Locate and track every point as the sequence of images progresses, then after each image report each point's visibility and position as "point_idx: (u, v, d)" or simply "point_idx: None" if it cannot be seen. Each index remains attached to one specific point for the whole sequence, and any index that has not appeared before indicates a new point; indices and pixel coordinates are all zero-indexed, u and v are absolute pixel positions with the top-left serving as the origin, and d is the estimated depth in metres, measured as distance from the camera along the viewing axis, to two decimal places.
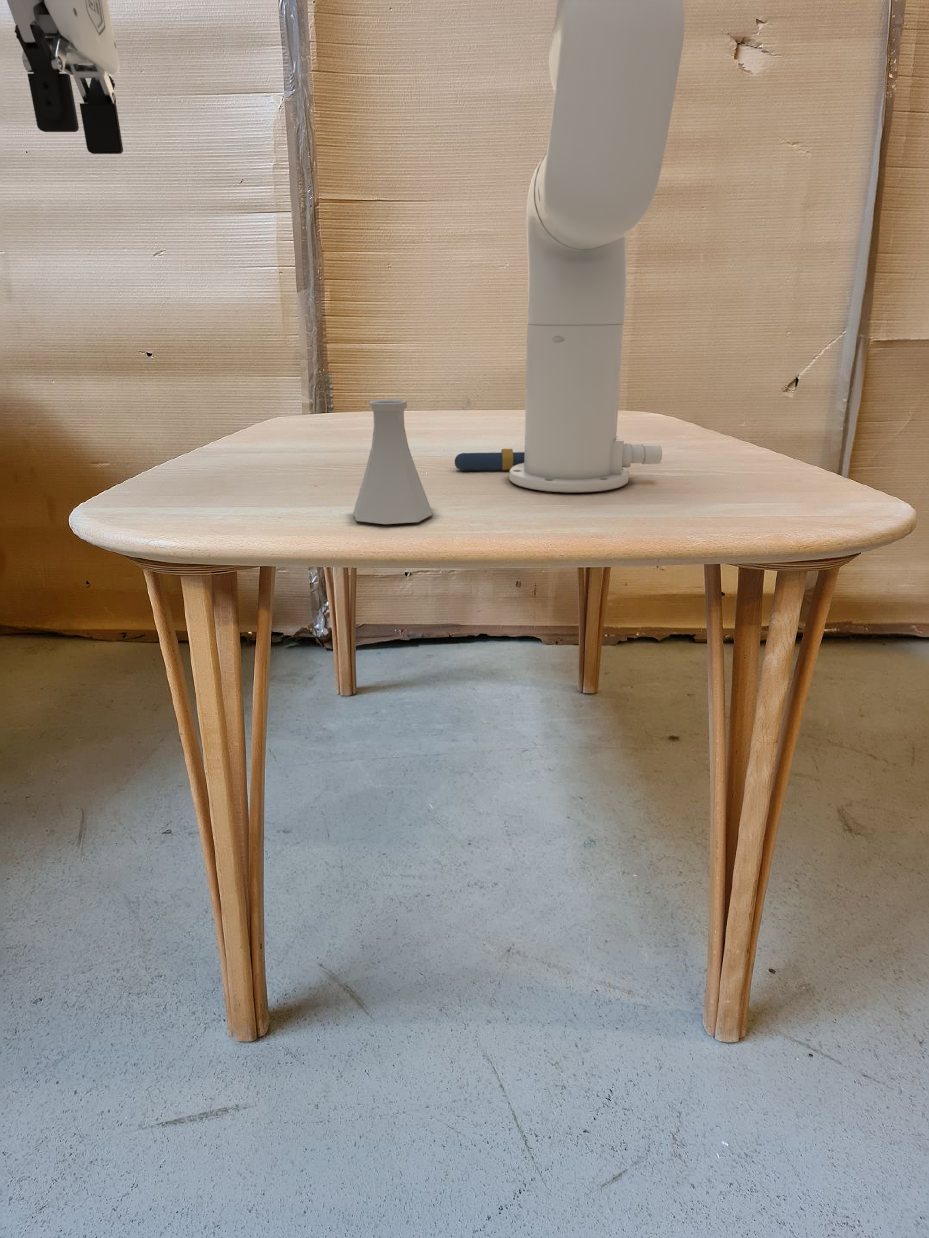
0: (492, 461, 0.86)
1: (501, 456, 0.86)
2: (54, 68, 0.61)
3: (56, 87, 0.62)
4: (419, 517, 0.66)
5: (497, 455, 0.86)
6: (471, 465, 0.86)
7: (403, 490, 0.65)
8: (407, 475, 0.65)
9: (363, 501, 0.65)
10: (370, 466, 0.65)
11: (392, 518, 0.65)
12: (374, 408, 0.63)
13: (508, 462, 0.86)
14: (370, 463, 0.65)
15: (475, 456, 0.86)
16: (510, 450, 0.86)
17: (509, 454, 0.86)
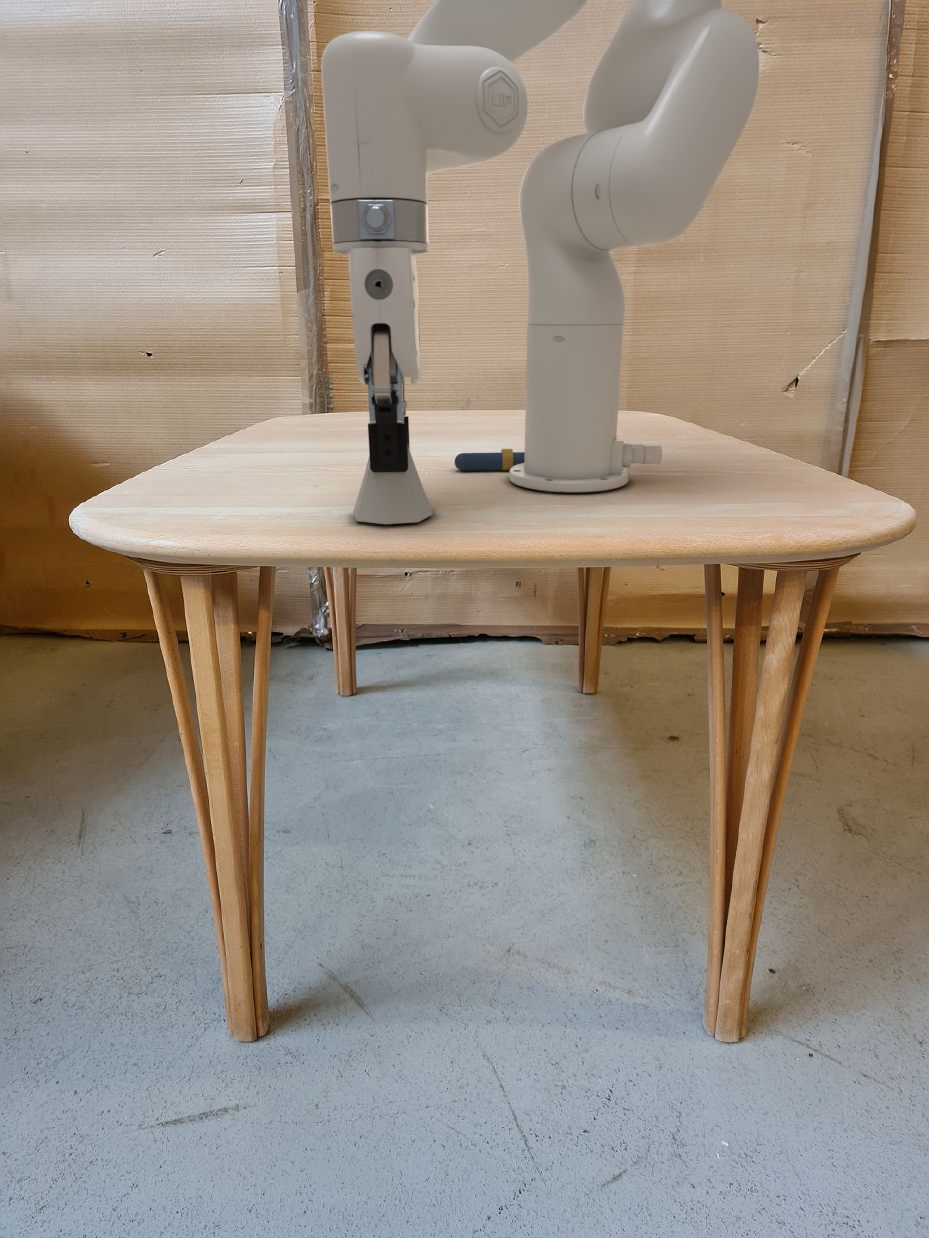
0: (492, 461, 0.86)
1: (501, 456, 0.86)
2: (398, 424, 0.62)
3: (397, 438, 0.63)
4: (419, 517, 0.66)
5: (497, 455, 0.86)
6: (471, 465, 0.86)
7: (403, 490, 0.65)
8: (407, 475, 0.65)
9: (363, 501, 0.65)
10: None
11: (392, 518, 0.65)
12: None
13: (508, 462, 0.86)
14: None
15: (475, 456, 0.86)
16: (510, 450, 0.86)
17: (509, 454, 0.86)
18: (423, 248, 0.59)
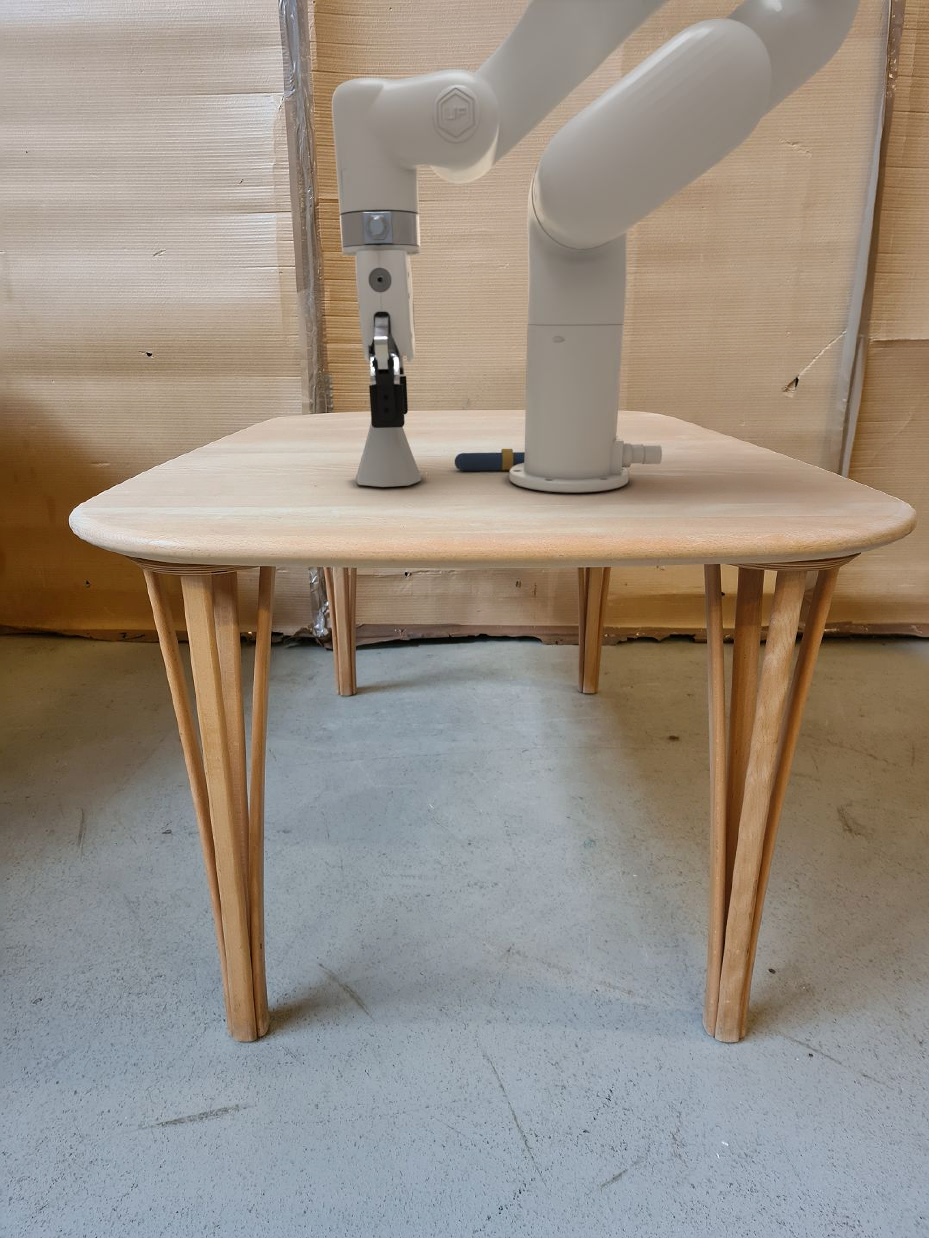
0: (492, 461, 0.86)
1: (501, 456, 0.86)
2: (395, 383, 0.72)
3: (394, 397, 0.73)
4: (410, 481, 0.79)
5: (497, 455, 0.86)
6: (471, 465, 0.86)
7: (397, 458, 0.78)
8: (400, 446, 0.79)
9: (364, 468, 0.79)
10: (369, 439, 0.79)
11: (388, 482, 0.78)
12: None
13: (508, 462, 0.86)
14: (369, 436, 0.79)
15: (475, 456, 0.86)
16: (510, 450, 0.86)
17: (509, 454, 0.86)
18: (416, 250, 0.72)
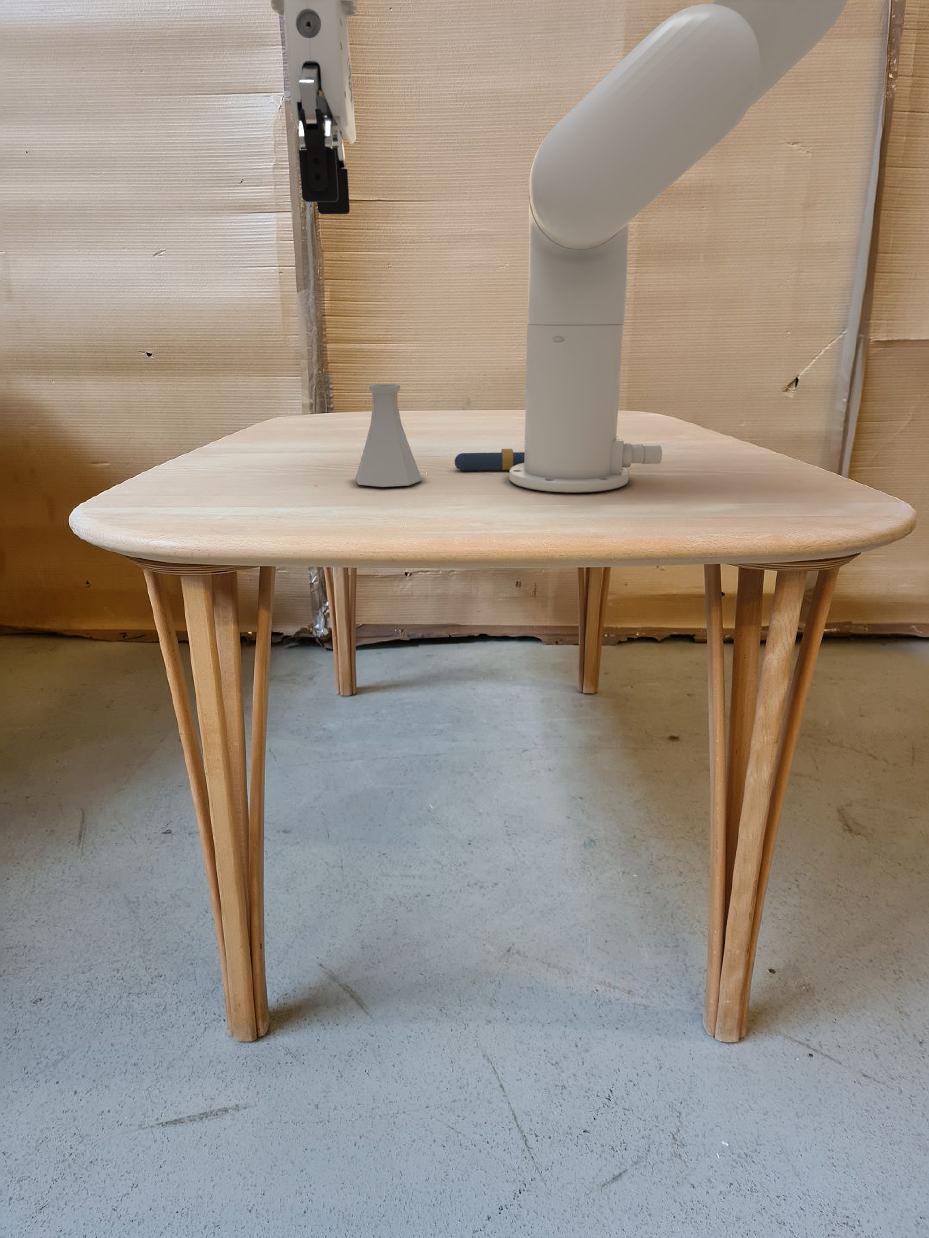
0: (492, 461, 0.86)
1: (501, 456, 0.86)
2: (326, 146, 0.66)
3: (325, 162, 0.67)
4: (410, 481, 0.79)
5: (497, 455, 0.86)
6: (471, 465, 0.86)
7: (397, 458, 0.78)
8: (400, 446, 0.79)
9: (364, 468, 0.79)
10: (369, 439, 0.79)
11: (388, 482, 0.78)
12: (373, 390, 0.77)
13: (508, 462, 0.86)
14: (369, 436, 0.79)
15: (475, 456, 0.86)
16: (510, 450, 0.86)
17: (509, 454, 0.86)
18: None
